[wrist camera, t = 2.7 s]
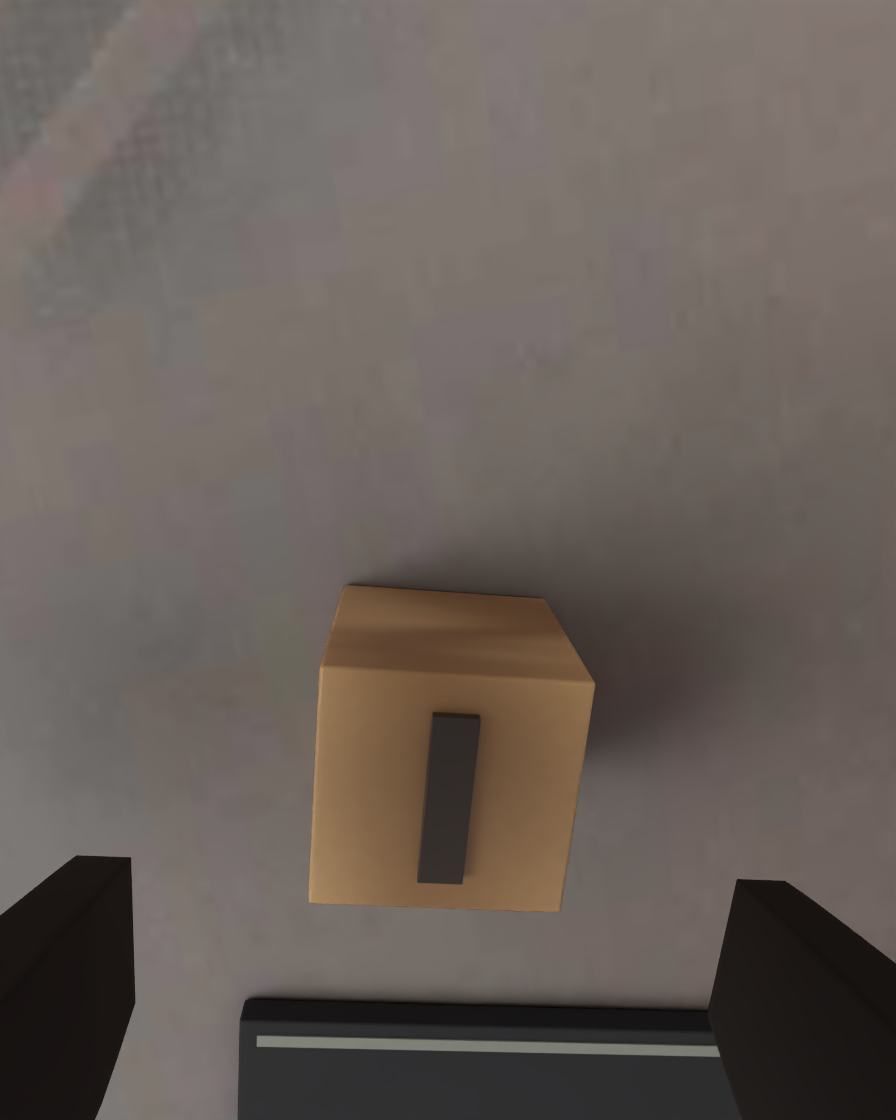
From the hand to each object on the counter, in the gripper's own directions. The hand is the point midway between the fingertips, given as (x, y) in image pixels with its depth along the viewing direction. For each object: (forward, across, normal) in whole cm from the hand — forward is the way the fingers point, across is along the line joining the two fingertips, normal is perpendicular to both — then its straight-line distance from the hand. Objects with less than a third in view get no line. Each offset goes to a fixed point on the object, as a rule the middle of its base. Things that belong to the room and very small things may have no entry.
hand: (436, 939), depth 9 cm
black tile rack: (+6, -5, +11) cm, 14 cm away
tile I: (+6, 0, 0) cm, 6 cm away
